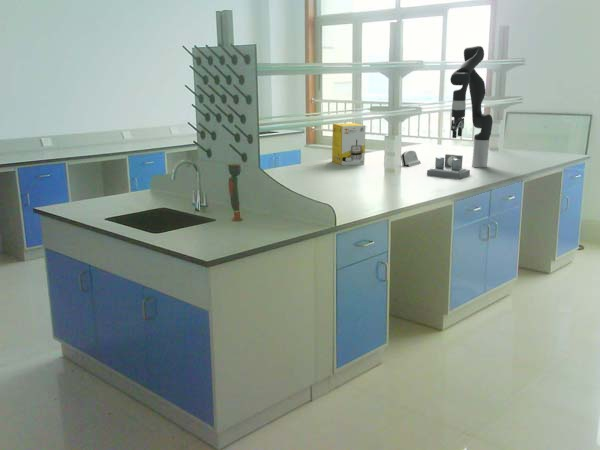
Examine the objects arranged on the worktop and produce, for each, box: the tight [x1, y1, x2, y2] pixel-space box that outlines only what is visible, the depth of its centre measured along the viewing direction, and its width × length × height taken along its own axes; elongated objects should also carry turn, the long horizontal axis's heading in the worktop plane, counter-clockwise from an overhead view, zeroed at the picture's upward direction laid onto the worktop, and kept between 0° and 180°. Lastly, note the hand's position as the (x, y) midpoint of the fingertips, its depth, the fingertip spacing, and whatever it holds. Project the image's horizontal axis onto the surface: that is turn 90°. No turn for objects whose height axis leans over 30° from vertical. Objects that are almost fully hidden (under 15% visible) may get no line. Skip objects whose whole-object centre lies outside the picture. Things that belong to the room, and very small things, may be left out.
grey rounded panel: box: [400, 150, 422, 168], centre depth 390 cm, size 17×5×10 cm, turn 143°
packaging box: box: [331, 122, 366, 166], centre depth 394 cm, size 16×16×25 cm
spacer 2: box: [451, 159, 461, 170], centre depth 348 cm, size 5×5×6 cm
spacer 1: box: [434, 156, 445, 169], centre depth 354 cm, size 5×5×6 cm
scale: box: [426, 153, 471, 180], centre depth 353 cm, size 16×20×11 cm
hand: (456, 137), depth 347 cm, fingers open, 8 cm apart
